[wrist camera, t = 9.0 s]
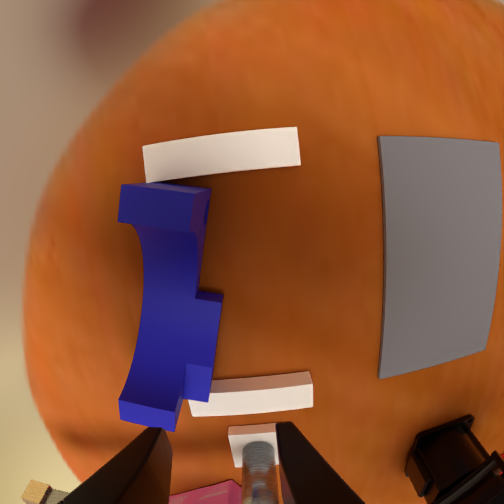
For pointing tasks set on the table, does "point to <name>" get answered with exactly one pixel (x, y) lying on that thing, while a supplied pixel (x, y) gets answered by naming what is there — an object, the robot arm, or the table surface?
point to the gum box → (211, 495)
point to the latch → (253, 479)
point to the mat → (438, 249)
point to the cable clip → (170, 303)
